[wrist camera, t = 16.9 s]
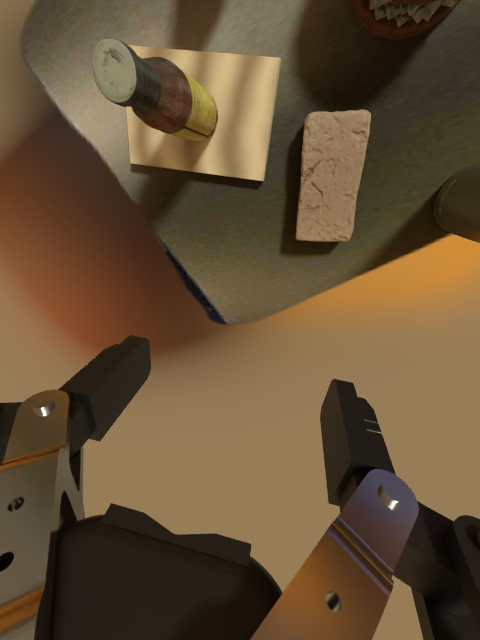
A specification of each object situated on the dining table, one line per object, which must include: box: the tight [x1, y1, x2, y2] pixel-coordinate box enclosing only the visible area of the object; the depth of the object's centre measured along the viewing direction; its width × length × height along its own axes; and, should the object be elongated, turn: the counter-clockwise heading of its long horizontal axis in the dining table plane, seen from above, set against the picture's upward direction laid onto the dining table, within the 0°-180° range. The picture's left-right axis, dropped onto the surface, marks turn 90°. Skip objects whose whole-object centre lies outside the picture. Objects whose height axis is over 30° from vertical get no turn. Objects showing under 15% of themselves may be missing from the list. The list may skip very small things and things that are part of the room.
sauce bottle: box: [92, 38, 218, 141], centre depth 29 cm, size 7×6×20 cm
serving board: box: [126, 46, 281, 181], centre depth 38 cm, size 22×14×2 cm, turn 83°
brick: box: [296, 110, 371, 242], centre depth 38 cm, size 17×8×5 cm, turn 1°
